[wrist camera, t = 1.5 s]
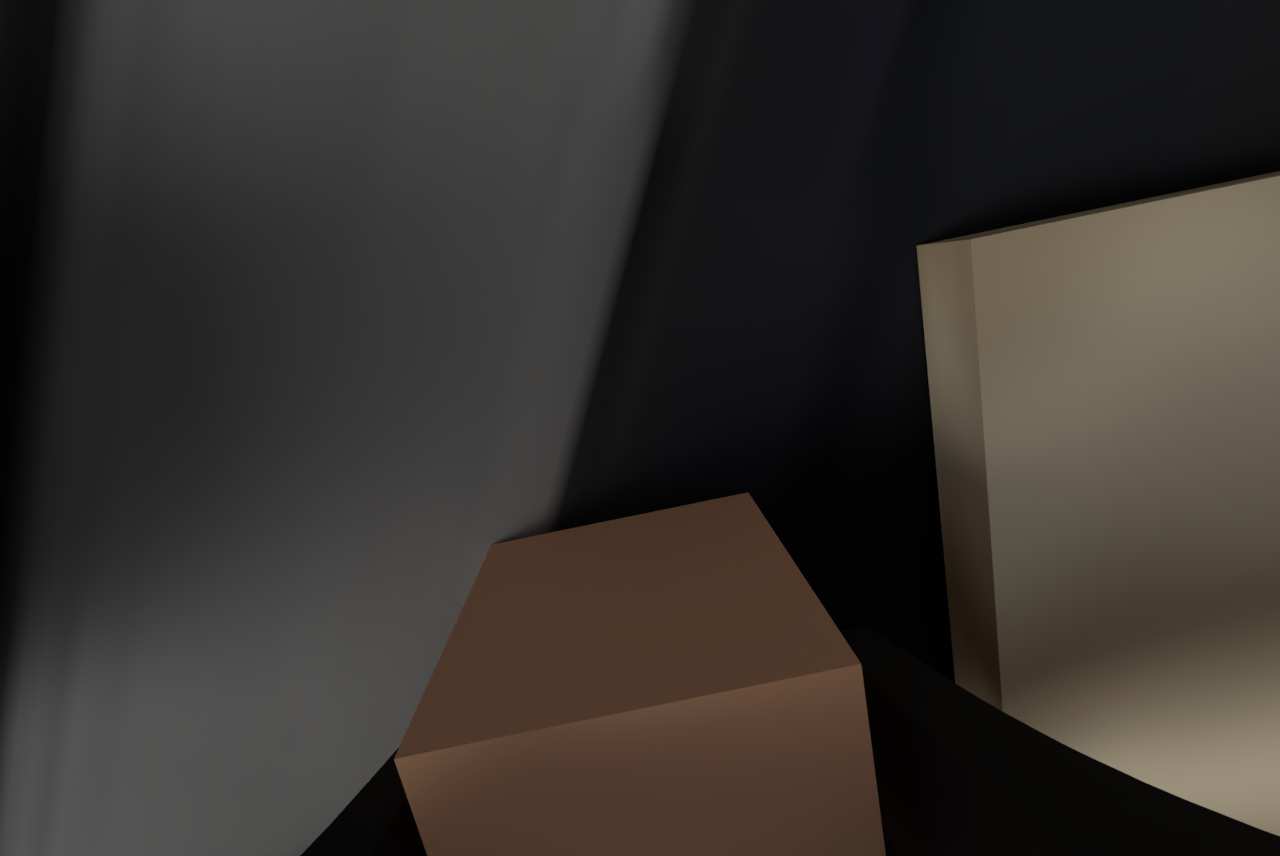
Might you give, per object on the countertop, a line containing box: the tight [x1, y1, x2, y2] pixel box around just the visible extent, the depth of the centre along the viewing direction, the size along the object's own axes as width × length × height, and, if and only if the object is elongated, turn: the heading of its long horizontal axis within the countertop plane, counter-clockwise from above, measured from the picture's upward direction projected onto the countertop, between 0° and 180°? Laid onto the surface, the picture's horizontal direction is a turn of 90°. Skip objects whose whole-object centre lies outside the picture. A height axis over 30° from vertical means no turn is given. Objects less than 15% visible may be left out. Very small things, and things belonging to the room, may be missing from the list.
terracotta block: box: [394, 493, 886, 856], centre depth 9 cm, size 6×4×5 cm
